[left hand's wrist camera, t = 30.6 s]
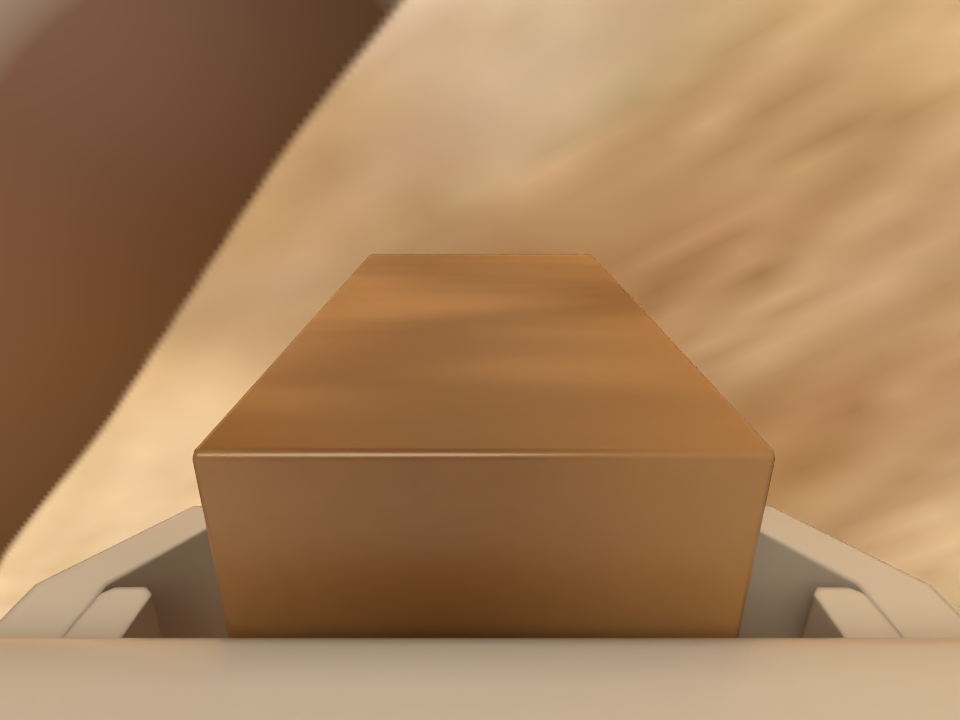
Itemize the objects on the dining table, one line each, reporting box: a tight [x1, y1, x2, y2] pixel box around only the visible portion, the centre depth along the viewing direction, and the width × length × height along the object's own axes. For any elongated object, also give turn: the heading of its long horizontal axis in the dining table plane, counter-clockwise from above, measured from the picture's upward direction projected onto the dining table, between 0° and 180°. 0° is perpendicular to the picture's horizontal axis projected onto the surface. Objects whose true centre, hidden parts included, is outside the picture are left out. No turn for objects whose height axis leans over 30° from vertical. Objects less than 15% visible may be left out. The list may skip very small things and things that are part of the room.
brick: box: [193, 254, 775, 638], centre depth 10 cm, size 5×6×9 cm
